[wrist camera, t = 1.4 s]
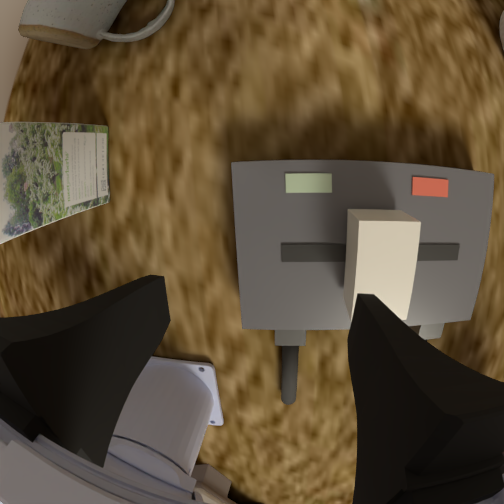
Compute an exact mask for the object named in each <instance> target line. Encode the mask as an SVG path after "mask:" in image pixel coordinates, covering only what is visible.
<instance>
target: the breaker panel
mask: <svg viewBox="0 0 504 504" xmlns="http://www.w3.org/2000/svg"><path fill="white" fill-rule="evenodd" d="M231 168H232V185H233V202H234V218H235V234H236V249H237V263H238V278H239V292H240V305H241V319H242V329H267V330H275V345H278V346H282V392H281V399H282V402H283V403H285V404H287V405H290V404H292V403H294V402H295V400H296V389H297V372H298V352H299V346H305V343H306V330H337V329H350V326H351V322H350V318H349V315H348V312H347V308H346V305H345V302H344V298H343V290H344V277H345V263H346V244H347V216H348V209H380V210H401V211H403V212H405V213H407V214H408V215H410V216H412V217H414V218H415V219H417V220H419V221H420V222H421V227H420V237H419V247H418V255H417V262H416V270H415V276H414V282H413V288H412V294H411V300H410V305H409V310H408V315H407V319H406V320H402V321H403V322H404V323H405V324H406V325H408V326H409V327H410V328H411V329H412V330H413V331H414V332H416V333H417V334H418V335H419V336H421V337H422V338H423V339H424V340H425V341H427V339H435V338H441V334H442V331H443V327H444V324H445V323H448V322H457V321H466V320H470V319H471V316H472V313H473V309H474V305H475V302H476V298H477V294H478V290H479V286H480V281H481V277H482V272H483V267H484V262H485V257H486V251H487V245H488V238H489V231H490V223H491V214H492V203H493V188H494V174H491V173H486V172H480V171H474V170H467V169H460V168H452V167H443V166H434V165H424V164H412V163H399V162H384V161H364V160H324V159H300V160H259V161H239V162H231Z"/></svg>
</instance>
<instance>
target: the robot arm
mask: <svg viewBox="0 0 504 504" xmlns="http://www.w3.org/2000/svg"><path fill="white" fill-rule="evenodd" d="M169 323H170V314H169V307H168V301H167V294H166V287H165V279H164V276H156V275H148V276H145V277H142V278H139V279H137V280H134V281H132V282H129V283H127V284H125V285H122V286H120V287H118V288H116V289H113V290H111V291H109V292H106V293H104V294H101V295H99V296H96V297H94V298H92V299H89V300H87V301H84V302H81V303H78V304H75V305H72V306H69V307H65V308H62V309H58V310H54V311H49V312H45V313H40V314H35V315H28V316H20V317H7V318H0V501H1V502H2V503H3V504H209V503H205V502H204V501H203V498H202V496H201V494H200V493H198V492H196V491H194V487H195V484H196V481H197V480H196V479H194V478H192V477H191V474H192V471H193V468H194V465H195V462H196V459H197V456H198V453H199V450H200V447H201V444H202V441H203V438H204V435H205V432H206V429H207V426H208V424H210V425H222V424H223V422H224V420H223V414H222V409H221V403H220V398H219V392H218V386H217V380H216V374H215V368H214V366H213V365H212V364H210V363H204V362H193V361H184V360H176V359H168V358H160V357H153V356H152V355H153V353H154V352H155V350H156V349H157V347H158V345H159V344H160V342H161V340H162V338H163V336H164V334H165V332H166V330H167V327H168V325H169ZM348 361H349V368H350V374H351V380H352V386H353V392H354V398H355V405H356V412H357V465H356V477H355V488H354V496H353V503H352V504H504V474H502V473H501V470H500V467H501V466H502V465H503V464H504V456H503V452H504V382H501V381H498V380H495V379H492V378H490V377H487V376H485V375H483V374H481V373H478V372H476V371H474V370H472V369H470V368H468V367H466V366H464V365H462V364H461V363H459V362H457V361H455V360H454V359H452V358H450V357H449V356H447V355H445V354H444V353H442V352H441V351H439V350H438V349H437V348H435V347H434V346H432V345H431V344H429V343H428V342H427V341H425V340H424V339H423V338H422V337H421V336H419V335H418V334H417V333H416V332H414V331H413V330H412V329H411V328H410V327H409V326H408V325H406V324H405V323H404V322H403V321H402V320H401V319H400V318H399V317H398V316H397V315H396V314H395V313H394V312H392V311H391V310H390V309H389V308H388V307H387V306H386V305H385V304H384V303H383V302H382V301H381V300H380V299H379V298H378V297H377V296H375V295H374V294H363V293H357V298H356V303H355V308H354V312H353V317H352V321H351V326H350V330H349V335H348ZM200 367H202V368H204V369H202V368H200Z"/></svg>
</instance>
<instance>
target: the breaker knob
mask: <svg viewBox="0 0 504 504" xmlns="http://www.w3.org/2000/svg"><path fill="white" fill-rule="evenodd" d="M420 227H421V222H420V221H419V220H417V219H415V218H414V217H412V216H410V215H408V214H407V213H405V212H403V211H401V210H380V209H348V216H347V244H346V263H345V277H344V290H343V298H344V302H345V305H346V308H347V312H348V315H349V318H350V322H351V321H352V317H353V312H354V308H355V303H356V298H357V293H363V294H374V295H375V296H377V297H378V298H379V299H380V300H381V301H382V302H383V303H384V304H385V305H386V306H387V307H388V308H389V309H390V310H391V311H392V312H394V313H395V314H396V315H397V316H398V317H399V318H400V319H401V320H406V319H407V315H408V310H409V305H410V300H411V294H412V288H413V282H414V276H415V270H416V262H417V255H418V247H419V237H420Z"/></svg>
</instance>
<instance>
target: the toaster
mask: <svg viewBox="0 0 504 504" xmlns="http://www.w3.org/2000/svg"><path fill="white" fill-rule="evenodd" d="M191 477H192V478H194V479H196V480H197V481H196V484H195V487H194V491H196V492H198V493H200V494H201V496H202V498H203V501H204V502H205V503H209V504H237V503H235V502H233V501H232V500H230V499H229V498H227V496H228V492H229V489H230V485H231V481H230V480H229V479H227V478H226V477H225V476H223V475H222V474H221V473H219V472H218V471H217V470H215V469H214V468H213V467H212V466H210V465H209V464H203V465H194V468H193V471H192V474H191Z"/></svg>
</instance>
